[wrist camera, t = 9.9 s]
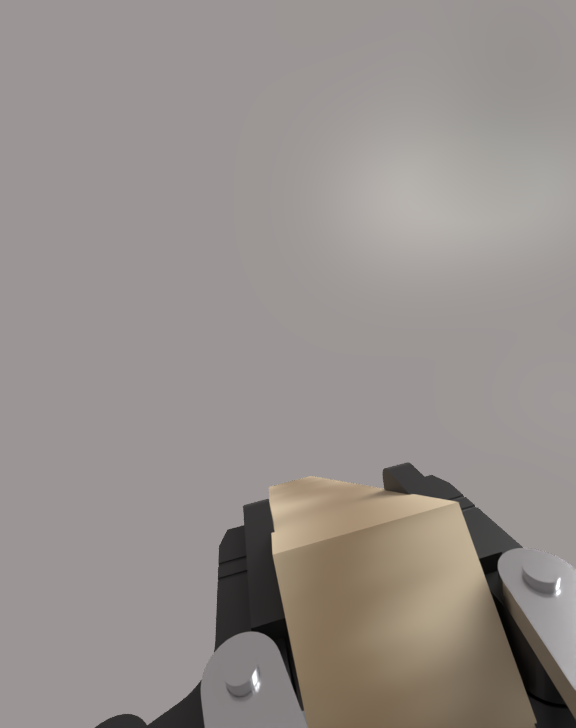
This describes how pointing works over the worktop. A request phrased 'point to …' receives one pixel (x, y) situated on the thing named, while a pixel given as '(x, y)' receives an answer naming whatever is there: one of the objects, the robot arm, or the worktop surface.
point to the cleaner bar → (390, 611)
